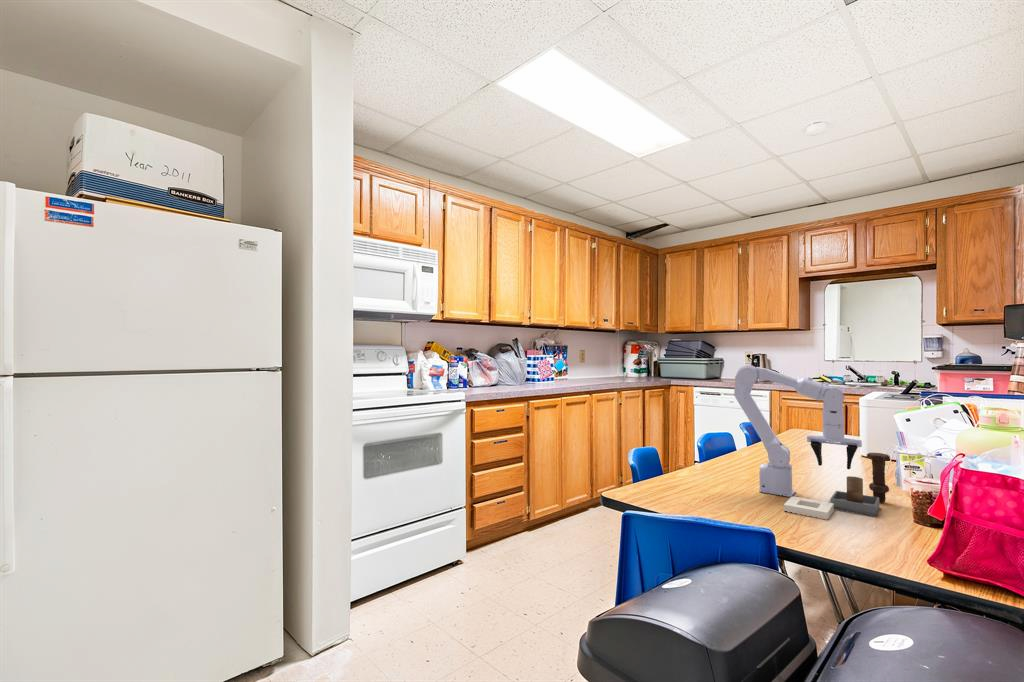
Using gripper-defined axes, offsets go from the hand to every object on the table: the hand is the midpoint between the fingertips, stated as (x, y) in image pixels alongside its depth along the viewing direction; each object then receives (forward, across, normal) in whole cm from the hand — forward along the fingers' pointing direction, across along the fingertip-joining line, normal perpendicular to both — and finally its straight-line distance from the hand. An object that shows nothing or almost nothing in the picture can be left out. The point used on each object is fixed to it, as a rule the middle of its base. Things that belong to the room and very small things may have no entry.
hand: (834, 466), depth 154 cm
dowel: (+9, +6, -6) cm, 13 cm away
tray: (+10, +6, -6) cm, 13 cm away
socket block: (+10, -4, -18) cm, 21 cm away
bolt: (+11, +11, +6) cm, 16 cm away
